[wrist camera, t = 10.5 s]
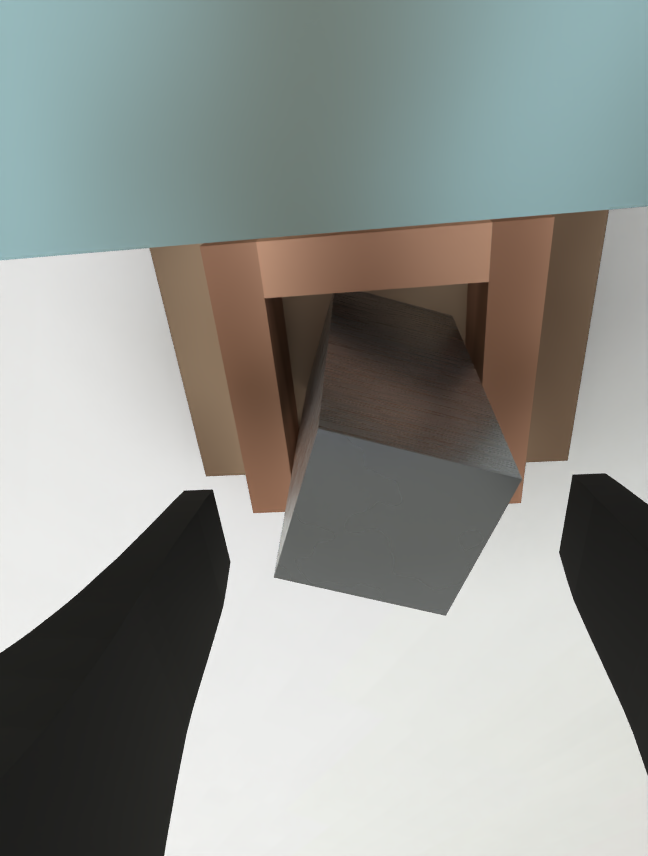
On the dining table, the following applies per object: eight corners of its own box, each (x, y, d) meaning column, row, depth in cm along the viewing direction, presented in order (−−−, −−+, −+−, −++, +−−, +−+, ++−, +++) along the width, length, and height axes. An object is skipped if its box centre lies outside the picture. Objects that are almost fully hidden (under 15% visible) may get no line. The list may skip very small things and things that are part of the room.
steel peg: (452, 315, 18) (521, 479, 10) (411, 417, 20) (445, 615, 13) (335, 283, 18) (318, 428, 10) (306, 389, 20) (274, 577, 12)
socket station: (643, -103, 13) (1301, -552, 4) (559, 446, 22) (713, 715, 12) (95, -30, 15) (-365, -246, 5) (211, 462, 23) (110, 717, 14)
